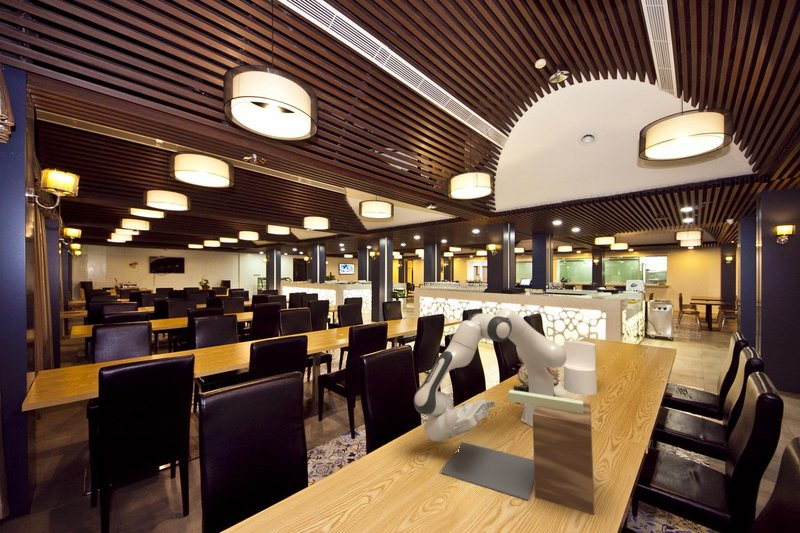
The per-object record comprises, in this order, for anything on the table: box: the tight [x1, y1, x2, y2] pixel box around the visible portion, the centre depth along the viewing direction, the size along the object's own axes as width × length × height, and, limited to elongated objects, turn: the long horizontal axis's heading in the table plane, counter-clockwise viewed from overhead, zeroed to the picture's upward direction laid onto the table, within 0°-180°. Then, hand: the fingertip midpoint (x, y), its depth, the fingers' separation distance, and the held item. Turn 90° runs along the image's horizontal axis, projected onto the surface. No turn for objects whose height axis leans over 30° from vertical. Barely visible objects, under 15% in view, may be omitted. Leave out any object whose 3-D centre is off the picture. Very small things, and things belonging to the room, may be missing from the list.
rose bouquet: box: [511, 354, 561, 403], centre depth 185 cm, size 26×29×30 cm
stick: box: [507, 389, 584, 414], centre depth 110 cm, size 3×23×3 cm, turn 60°
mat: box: [439, 441, 535, 502], centre depth 119 cm, size 24×30×1 cm
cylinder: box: [563, 340, 598, 396], centre depth 197 cm, size 17×17×28 cm
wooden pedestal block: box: [532, 402, 595, 516], centre depth 107 cm, size 18×16×26 cm
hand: (491, 407), depth 119 cm, fingers open, 8 cm apart
